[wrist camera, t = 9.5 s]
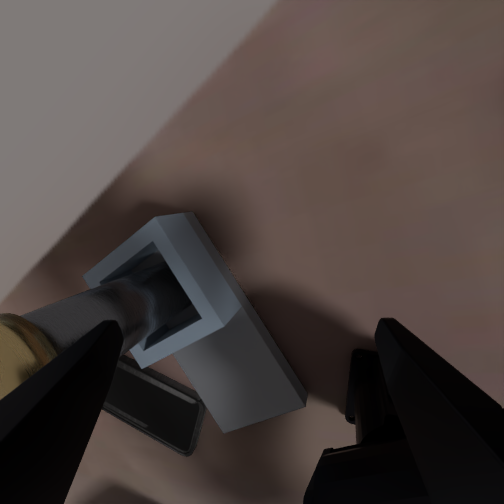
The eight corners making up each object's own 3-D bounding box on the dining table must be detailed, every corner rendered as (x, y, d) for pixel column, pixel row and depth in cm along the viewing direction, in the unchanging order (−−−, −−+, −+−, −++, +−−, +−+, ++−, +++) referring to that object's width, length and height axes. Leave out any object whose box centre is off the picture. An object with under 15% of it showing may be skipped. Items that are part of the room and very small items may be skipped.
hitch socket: (307, 393, 24) (299, 444, 19) (229, 420, 27) (205, 469, 22) (192, 211, 23) (154, 216, 19) (127, 261, 27) (82, 276, 22)
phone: (84, 341, 30) (205, 403, 26) (92, 335, 31) (210, 395, 27) (78, 396, 32) (190, 461, 29) (87, 390, 33) (195, 451, 30)
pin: (212, 302, 23) (57, 430, 10) (166, 320, 25) (-11, 447, 12) (184, 245, 22) (-8, 308, 10) (140, 268, 24) (-67, 344, 12)
